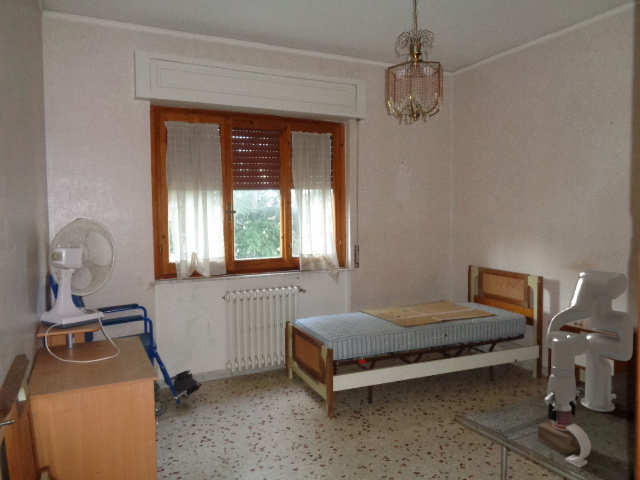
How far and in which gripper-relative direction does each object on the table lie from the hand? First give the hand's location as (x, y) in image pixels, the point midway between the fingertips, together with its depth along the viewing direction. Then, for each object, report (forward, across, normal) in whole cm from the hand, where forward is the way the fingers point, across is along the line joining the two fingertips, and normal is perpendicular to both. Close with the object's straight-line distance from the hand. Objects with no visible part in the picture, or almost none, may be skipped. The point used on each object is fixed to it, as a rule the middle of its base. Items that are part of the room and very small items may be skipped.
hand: (561, 416), depth 171 cm
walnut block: (+10, 0, 0) cm, 10 cm away
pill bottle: (+4, 0, 0) cm, 4 cm away
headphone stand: (+10, +6, +11) cm, 16 cm away
